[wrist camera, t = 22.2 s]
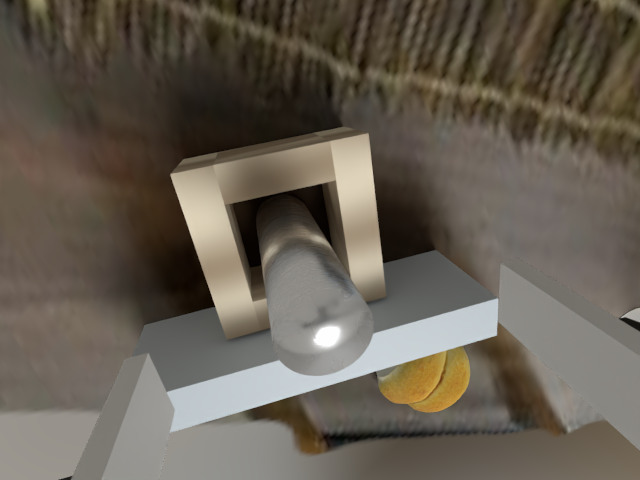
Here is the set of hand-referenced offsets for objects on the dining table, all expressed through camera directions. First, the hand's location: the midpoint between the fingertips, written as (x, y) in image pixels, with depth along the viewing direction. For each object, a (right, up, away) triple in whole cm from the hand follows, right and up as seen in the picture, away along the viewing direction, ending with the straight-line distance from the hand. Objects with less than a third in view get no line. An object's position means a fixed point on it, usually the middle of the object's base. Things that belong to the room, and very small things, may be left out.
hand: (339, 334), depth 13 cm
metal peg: (-3, +5, +13) cm, 15 cm away
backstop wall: (-2, -2, +16) cm, 16 cm away
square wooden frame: (-3, +5, +13) cm, 15 cm away
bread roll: (+9, -8, +22) cm, 25 cm away
